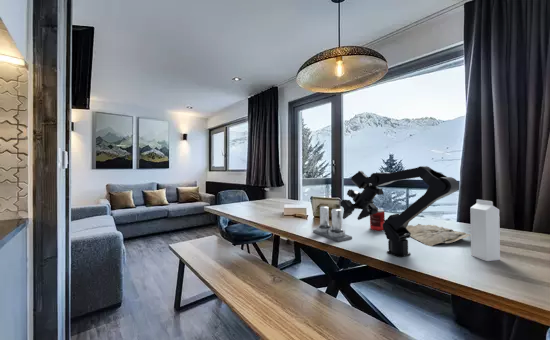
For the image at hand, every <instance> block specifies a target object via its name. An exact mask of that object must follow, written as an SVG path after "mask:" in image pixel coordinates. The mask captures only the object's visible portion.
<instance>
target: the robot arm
mask: <svg viewBox="0 0 550 340" xmlns="http://www.w3.org/2000/svg"><path fill="white" fill-rule="evenodd" d="M416 178H420V179H421V180H422V181H423V182H424V183H425V184H427V185H428V187H427V189H426V191H425V193H424V194H423V195H421V196H420V197H419V198H418V199H417V200H415V201H414V202H413V203H412V204H411V205H409V206H408V207H407V208H406V209H404V210H403V211H402V212H401V213H400V214H399V212H398V213H394V214H390V215H389V216H388V217H387V219H385V220H384V221H385V222H384V223H383V231H384V234H385V237H386V239H387V240H388V241H387V242H388V243H387V245H388V246H387V247H388V250H387V251H386V253H388V254H390V255H393V256H396V257H399V258H403V257H407V256H410V255H411V254H412V253H411V252H409V240H408V239H410V237H411V236H410V235H411V233H410V232H409V231H408V230H407V229H406V227H407V226H408V225H409V223H410V222H412V220H413V219H415V218H416V217H418V216H419V215H420V214H421V213H422V212H424V211H426V209H428V208H429V207H430V206H432V205H433V204H434V203H436V202H437V201H439V200H441V199H444V198H446V197H448V196H450V195H452V194H454V193H456V192H457V191H458V190H459V187H460V186H459V182H458V180H457V179H456V178H454V177H452V176H447V175H445V174H443V173H440V172H439V171H436V170H434V169H432V168H431V167H430V166H428V165H426V166H425V165H423V166H422V165H421V166H417V167H414V168H408V169H404V170H398V171H393V172H373V173H371V174H370V175H369V176H367V175H366V173H364V171H363V170H358V172H356V173H355V174H353V175H352V176H351V177H350V180H351V182H352V183H353V184H354V185H356V187H357V188H358V189H360V190H362V189H363V190H362V191H361V192H360V191H358V190H353V189H351V188H349V189H348V190H347V192H346V196H348V197H350V199H341V200H340V205H341V208H343V212H342V220H345V219H347V218H349V217H350V216H351V215H352V214H353V212H354V211H355V210H361V211H360V213H359V215H358V216H357V218H356V219H357V221H360V220H362V219H364V218H368V217H370V215H373V214H376V213H377V212H378V209H379V208H378V207H377V206H376V204H375V202H374V199H375V197H376V196H377V195H378V196H380V195H384V190H383V188H382V187H381V186H386V185H389V184H392V183H394V182H397V181H404V180H410V179H416ZM380 187H381V188H380ZM351 199H352V201H353V202H354V203H353V202H352V201H351Z"/></svg>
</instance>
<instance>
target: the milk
mask: <svg viewBox="0 0 550 340" xmlns="http://www.w3.org/2000/svg"><path fill="white" fill-rule="evenodd" d="M475 201H476V203H475V204H473V205H472V206H470V210H469V211H470V212H469V214H470V215H469V216H470V217H469V218H470V234H471V236H470V255H471V256H472V257H474V258H477V259H480V260H483V261H485V262H490V261H491V262H493V261H500V260H501V242H500V241H501V236H500V235H501V233H500V226H501V225H500V224H501V223H500V222H501V221H500V209H499V208H497V207H496V206H495V205H494V202H493V201H492V200H485V199H484V200H483V199H479V198H478V199H476V200H475Z"/></svg>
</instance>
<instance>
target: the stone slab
mask: <svg viewBox="0 0 550 340" xmlns="http://www.w3.org/2000/svg"><path fill="white" fill-rule="evenodd" d="M406 229H407V230H408V231H409V232H410V233H411V235H410V237H411V238H412V239H414V240H417V241H419V242H420V243H422V244H424V245H425V246H429V247H433V246H435V245H438V244H450V243H451V244H452V243H453V242H456V241H459V240H461V239H462V240H463V239H466V238H468V237H471V233H470V234H469V233H466V232H463V231H456V230H454V229H451V228H448V227H443V226H438V225H435V224H433V225H431V224H422V223H421V224H419V223H418V224H415V225H412V224H408V226H407V227H406Z"/></svg>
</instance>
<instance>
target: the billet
mask: <svg viewBox="0 0 550 340" xmlns="http://www.w3.org/2000/svg"><path fill="white" fill-rule="evenodd" d="M342 220H343V217H342V209H341V208H332V209H331V226H332V232H333V233H342V230H343V228H342V227H343V226H342V225H343V221H342Z"/></svg>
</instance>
